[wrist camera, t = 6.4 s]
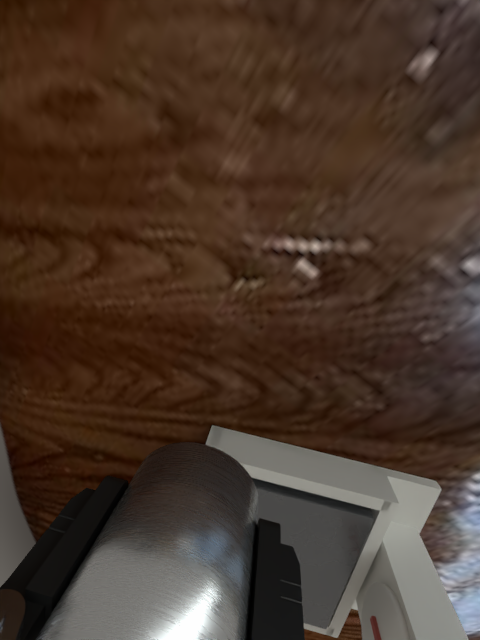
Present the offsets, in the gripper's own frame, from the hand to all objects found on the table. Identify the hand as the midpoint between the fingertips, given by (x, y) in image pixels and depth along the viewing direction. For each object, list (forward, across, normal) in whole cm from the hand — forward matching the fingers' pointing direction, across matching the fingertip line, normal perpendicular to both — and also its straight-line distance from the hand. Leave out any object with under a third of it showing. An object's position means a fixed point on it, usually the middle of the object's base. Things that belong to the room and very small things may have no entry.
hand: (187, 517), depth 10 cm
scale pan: (+14, -7, +18) cm, 24 cm away
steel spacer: (+1, 0, 0) cm, 1 cm away
